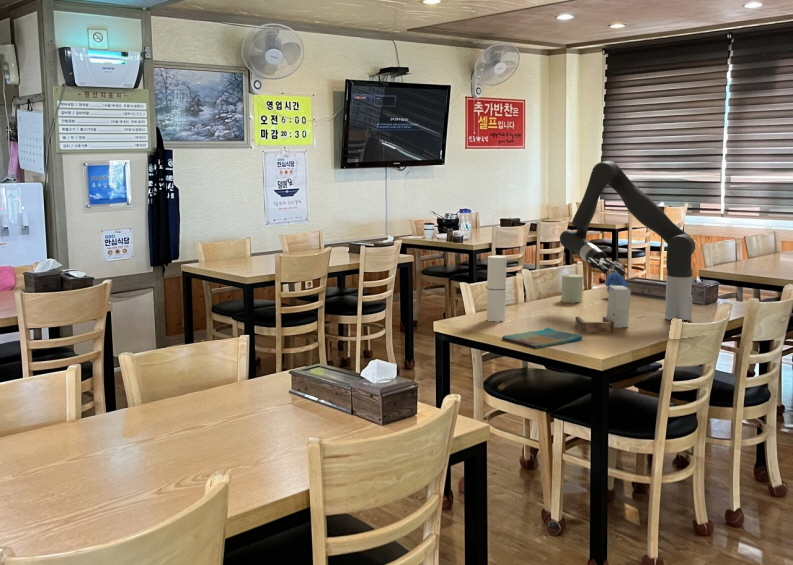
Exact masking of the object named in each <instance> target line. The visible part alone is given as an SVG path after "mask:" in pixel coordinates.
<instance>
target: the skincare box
mask: <svg viewBox="0 0 793 565" xmlns="http://www.w3.org/2000/svg"><path fill="white" fill-rule="evenodd" d="M631 294H632V289H630V288H628V286H627V287H624V286H609V293H608V298H607V308H606V317H607V318H608V319H610V320H611V321H612V322H614V329H615V328H616V329H617V328H618V329H619V328H621V329H622V327H627V328H629V317H630V304H631Z"/></svg>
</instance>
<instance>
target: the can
mask: <svg viewBox="0 0 793 565" xmlns="http://www.w3.org/2000/svg"><path fill="white" fill-rule="evenodd" d="M583 280H584V275H583V274H577V273H565V274H561V298H560V302H562V301H563V303H567V302H571V303H570V304H576V303H575V302H580V303H582V302H583V282H584V281H583Z"/></svg>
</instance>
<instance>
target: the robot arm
mask: <svg viewBox="0 0 793 565" xmlns="http://www.w3.org/2000/svg"><path fill="white" fill-rule="evenodd" d="M607 186H609V187H610V188H611V189H612V190H614V191H615V192H616V193H617V194H618V195H619V197H620V198H621V200H622V202H623V204H624V205H625V208H626V209H627V210H628V212H629V213H630V214H631V216H633V217H634V218H635V219H636V221H638V222H639V223H640V224H642V225H643V226H644V227H646V228H648V229H649V230H650V231H652V232H654V233H655V234H657V236H659V237H660V238H661V239H662V240H663V241H664V242H665V243H666V244H667V245H666V264H665V267H666V285H665V286H666V287H665V289H666V290H665V303H664V305H665V306H664V319H666V320H668V321H672V320H671V319H673V318H677V319H682V320H683V321H682V322H685V321H684V320H687V321H692V314H693V313H692V312H693V300H694V299H693V296H692V281H693V268H692V255H694V252H695V250H696V242H695V240H694V239H693V238H692V237H691V235H689V234H687V232H685V231H684V230H682V229H681V228H680V227H679V226H677V225H676V224H675V223H674V222H673V221H672V220H671V219H670V217H668V215H666V214H665V212H664V211H663V210H662V209H661V208H660V207H659V206H658V204H656V202H654V201H653V200H652V199H651V198H650V197H649V196H648V195H647V194H646V193H645V192H643V190H642V189H640V188H639V187H638V186H637V185H636V184H635V183H634V182H633V181H632V180H630V178H629V177H628V175H626V173H624V171H623V170H622V169H621V168H620V166H619V165H618V164H617V163H615V162H614V161H612V160H605V161H600V162H598V163H596V164H595V165H594V166H593V168H592V171H591V173H590V177H589V181H588V183H587V186H586V189H585V192H584V194H583V196H582V199H581V202H580V204H579V206H578V208H577V210H576V212H575V213H574V217H573V218H572V221H571V224H572V226H574V228H575V229H576V231H575V230H564V231H562V232H561V234H560V235H559V242H560V244H561V246H562V247H564V248H565V249H567V250H569V251H571V252H572V253H575V254H577V256H579V257H580V258H581V259H582V260H583V261H585V263H586V264H587V265H588V266H589V267H591V268H592V269H593V270H598V271H600V272H601V273H603V274H604V275H608V272H609V271H610V272H616V273H617V275H619V274H620V275H621V276H623V277H625V275H626V271H625V270H624V268H625V266H624V265H622V264H621V263H619V262H618V261H616V260H613V261H612V260H611V259H609V258H608V255H607V254H606V252H605V251H603V250H602V249H601V248H599V247H598V246H596V245H595V244H593V243H592V242H590V241H589V240H587V235H588V228H589V226H590V224H591V221H592V220H593V217H594V216H595V214H596V211H597V206H598V203H599V199H600V196H601V195H602V193H603V191H604V190H605V188H606V187H607Z"/></svg>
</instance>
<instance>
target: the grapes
mask: <svg viewBox="0 0 793 565" xmlns="http://www.w3.org/2000/svg"><path fill="white" fill-rule="evenodd" d="M604 285H605V286H606V287H607V288H606V291H607V294H609V286H624V287H627V288H628V285H629V284H628V281H626V280H624V276H621V275H620V274H618V273H617V272H615V271H611V274H610V273H609V274H608V273H607V274H606V280H605V281H604Z"/></svg>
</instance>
